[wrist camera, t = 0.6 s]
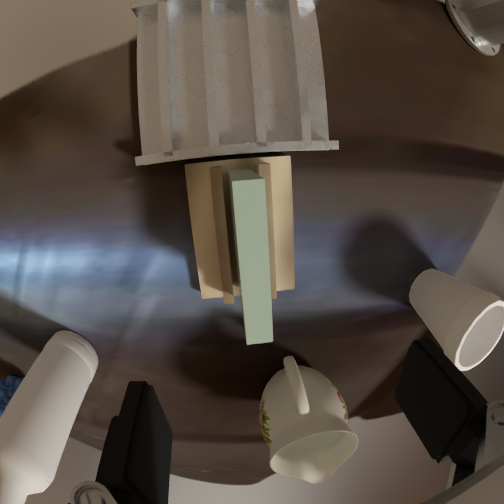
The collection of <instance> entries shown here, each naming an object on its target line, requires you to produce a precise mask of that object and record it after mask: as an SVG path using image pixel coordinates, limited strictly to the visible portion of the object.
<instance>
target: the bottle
mask: <svg viewBox="0 0 504 504" xmlns="http://www.w3.org/2000/svg"><path fill="white" fill-rule="evenodd" d="M97 366H98V356H97V354H96V352H95V350H94V348H93V347H92V346H91V344H90V343H89V342H88V341H87V340H86V339H84V338H83V337H82V336H80V335H79V334H76V333H74V332H72V331H66V330H62V331H58V332H56V333H55V334H54V335H53V336H52V338H51V339H50V340H49V341H48V342H47V343H46V345H45V346H44V348H43V350H42V352H41V353H40V355H39V356H38V358H37V359H36V361H35V362H34V364H33V365H32V367H31V368H30V370H29V371H28V373H27V374H26V376H25V377H24V379H23V381H22V382H21V384H20V385H19V387H18V389H17V390H16V392H15V393H14V395H13V397H12V398H11V400H10V402H9V403H8V405H7V407H6V409H5V410H4V412H3V414H2V416H1V417H0V504H25V501H26V497H27V495H30V494H35V493H40V492H43V491H44V490H45V489H46V488H47V487H48V486H49V485H50V484H51V483H52V481H53V480H54V476H55V474H56V470H57V467H58V464H59V461H60V458H61V456H62V452H63V450H64V447H65V444H66V441H67V439H68V436H69V433H70V431H71V428H72V425H73V423H74V420H75V418H76V415H77V413H78V410H79V408H80V405H81V403H82V401H83V398H84V396H85V393H86V391H87V389H88V386H89V384H90V383H91V381H92V379H93V377H94V374H95V371H96V368H97Z"/></svg>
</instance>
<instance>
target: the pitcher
mask: <svg viewBox="0 0 504 504" xmlns="http://www.w3.org/2000/svg"><path fill="white" fill-rule="evenodd" d="M283 362H284V367H285V368H284V369H282V370H280V371H278V372H277V373H276V374H275V375H274V376H273V377H272V378H271V379H270V380H269V382H268V383H267V385H266V387H265V389H264V391H263V394H262V398H261V402H260V409H259V419H260V428H261V431H262V435H263V437H264V439H265V441H266V443H267V445H268V446H269V448H270V467H271V468H272V470H273V471H274V472H276V473H277V474H280V475H282V476H286V477H291V478H299V479H303V480H305V481H307V482H309V483H313V484H316V483H321V482H324V481H326V480H328V479H329V478H330V477H331V476H332V475H333V473H334V472H335V470H336V469H337V468H338V467H339V466H340V465H341V464H343V463H344V462H345V461H346V460H348V459H349V458H350V457H351V456H352V454H353V453H354V452H355V450H356V448H357V446H358V438H357V436H356V434H355V433H354V432H353V430H352V429H351V428H350V427H349V425H348V412H347V407H346V405H345V402H344V400H343V398H342V396H341V394H340V392H339V391H338V389H337V388H336V387H335V385H334V384H333V383H332V382H331V381H330V380H329V379H328V378H327V377H325V376H324V375H323V374H322V373H320V372H319V371H317V370H315V369H312V368H309V367H306V366H301V365H297V364H296V361H295V359H294V358H293V357H292V356H287V357H285V358H284V359H283Z"/></svg>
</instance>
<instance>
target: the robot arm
mask: <svg viewBox="0 0 504 504" xmlns="http://www.w3.org/2000/svg"><path fill="white" fill-rule="evenodd" d="M445 3H446V7H447V10H448V12H449V15H450V17H451V19H452V21H453V23H454V24H455V26H456V28H457V29H458V31H459V32H460V34H461V35H462V36H463V37H464V39H465V40H466V41H467V42H468V43H469V44H470V45H471V46H472V47H473V48H474V49H475V50H476V51H478V52H479V53H481V54H483V55H486V56H492V55H496V54H497V53H498V52H499V49H500V44H504V0H445ZM395 399H396V401H397V403H398V404H399V406H400V408H401V409H402V411H403V412H404V414H405V415H406V417H407V419H408V420H409V422H410V423H411V425H412V427H413V428H414V430H415V431H416V433H417V435H418V436H419V438H420V440H421V441H422V443H423V445H424V446H425V448H426V449H427V451H428V453H429V455H430V456H431V457H432V458H433V459H436V461H437V462H438V463H441V462H443V461H444V460H446V459H448V458H449V457H450V458H451V460H452V466H451V470H450V475H449V479H448V483H447V487H446V490H445V491H443V492H442V493H440V494H438V495H436V496H434V497H432V498H431V499H429V500H427V501H425V502H423V503H421V504H504V401H503V400H497V401H494V402H492V403H491V404H490V405H489V406H488V407H487V405H486V404H487V401H486V399H485V398H484V397H483V396H482V395H481V394H480V393H479V391H478V390H477V389H476V388H475V387H474V386H473V385H472V383H471V382H470V381H469V380H468V379H467V378H466V377H465V376H464V374H463V373H462V372H461V371H460V370H459V369H458V368H457V367H456V366H455V365H454V364H453V363H452V361H451V360H450V359H449V358H448V357H447V356H446V355H445V354H444V353H443V352H442V351H441V350H440V349H439V348H438V347H437V346H436V345H435V344H434V342H433V341H432V340H431V339H430V338H428V337H424V338H421V339H418V340H415V341H413V342H412V345H411V346H410V347H409V349H408V353H407V357H406V360H405V363H404V367H403V370H402V373H401V376H400V379H399V382H398V385H397V388H396V391H395ZM172 438H173V436H172V430H171V428H170V425H169V423H168V421H167V419H166V417H165V414H164V412H163V410H162V407H161V405H160V403H159V400H158V398H157V395H156V393H155V390H154V388H153V386H152V385H148V383H147V382H146V381H130V382H129V384H128V387H127V390H126V393H125V397H124V400H123V403H122V407H121V410H120V414H119V416H114V417H113V418H112V420H111V422H110V426H109V429H108V433H107V437H106V440H105V444H104V448H103V452H102V455H101V459H100V463H99V467H98V472H97V476H96V480H95V482H94V481H85V482H81V483H79V484H78V485H76V486H75V487H74V488H73V490H72V491H71V494H70V503H68V504H168V492H169V477H170V476H169V475H170V463H171V450H172Z"/></svg>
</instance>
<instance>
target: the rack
mask: <svg viewBox="0 0 504 504" xmlns="http://www.w3.org/2000/svg"><path fill="white" fill-rule="evenodd" d="M320 1H321V0H140V1H136V2H132V5H131V9H132V10H133V12H134V13H135V15H136V16H137V18H138V22H137V85H138V107H139V123H140V136H141V147H142V156H137V157H135V161H136V166H138V165H149V164H155V163H162V162H169V161H176V160H184V159H192V158H201V157H210V156H220V155H231V154H243V153H258V152H275V151H302V150H329V149H339V142H338V141H329V135H328V118H327V105H326V93H325V82H324V72H323V63H322V54H321V46H320V39H319V31H318V24H317V18H316V11H315V7H316V6H317V5H318V3H319V2H320Z"/></svg>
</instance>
